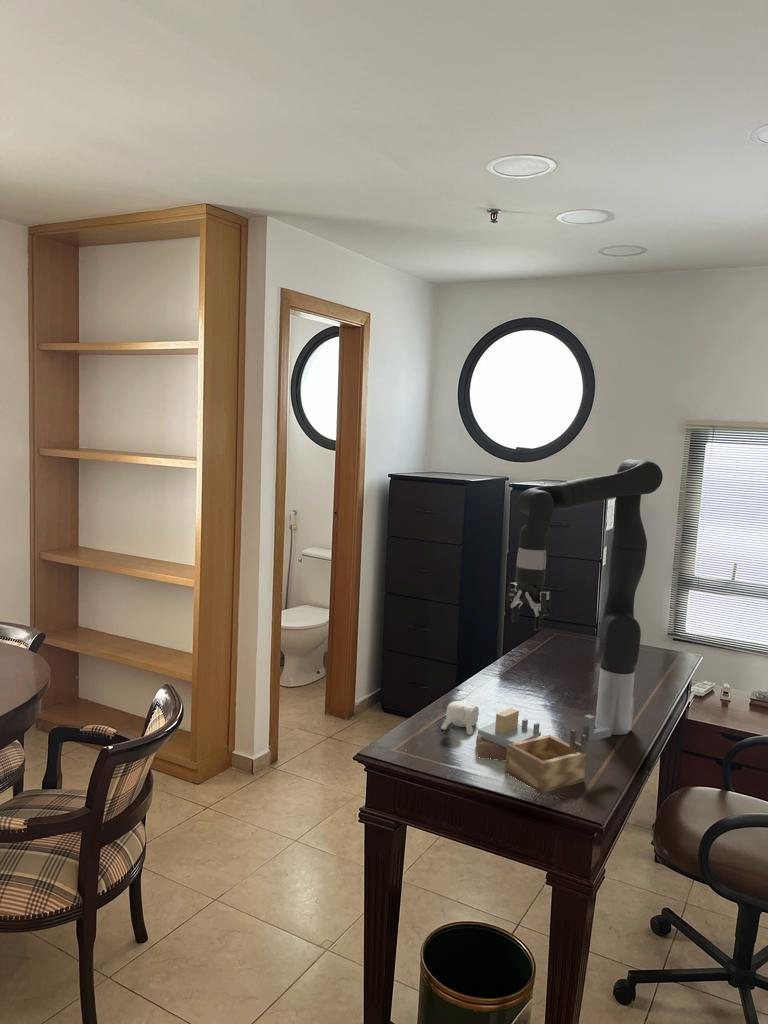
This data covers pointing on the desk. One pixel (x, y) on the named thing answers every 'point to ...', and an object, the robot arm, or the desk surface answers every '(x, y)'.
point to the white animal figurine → (461, 715)
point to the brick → (490, 749)
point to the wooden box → (547, 762)
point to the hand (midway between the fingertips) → (526, 625)
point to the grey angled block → (594, 733)
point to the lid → (509, 729)
